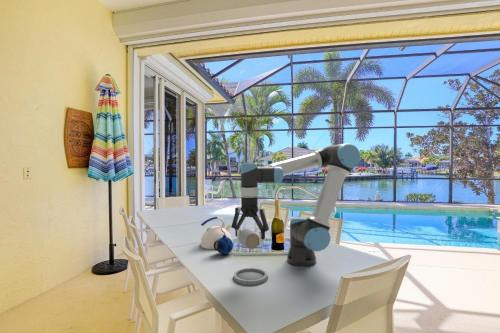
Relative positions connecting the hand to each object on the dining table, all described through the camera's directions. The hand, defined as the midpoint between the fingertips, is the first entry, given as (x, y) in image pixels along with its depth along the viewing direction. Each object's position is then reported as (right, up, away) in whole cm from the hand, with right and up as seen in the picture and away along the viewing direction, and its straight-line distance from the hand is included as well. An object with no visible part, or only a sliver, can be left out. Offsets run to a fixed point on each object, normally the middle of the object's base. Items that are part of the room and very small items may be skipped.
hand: (250, 244), depth 127 cm
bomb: (-15, -15, +34) cm, 40 cm away
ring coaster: (0, -15, 0) cm, 15 cm away
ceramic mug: (+1, -1, 0) cm, 1 cm away
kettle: (-22, -15, +53) cm, 59 cm away
